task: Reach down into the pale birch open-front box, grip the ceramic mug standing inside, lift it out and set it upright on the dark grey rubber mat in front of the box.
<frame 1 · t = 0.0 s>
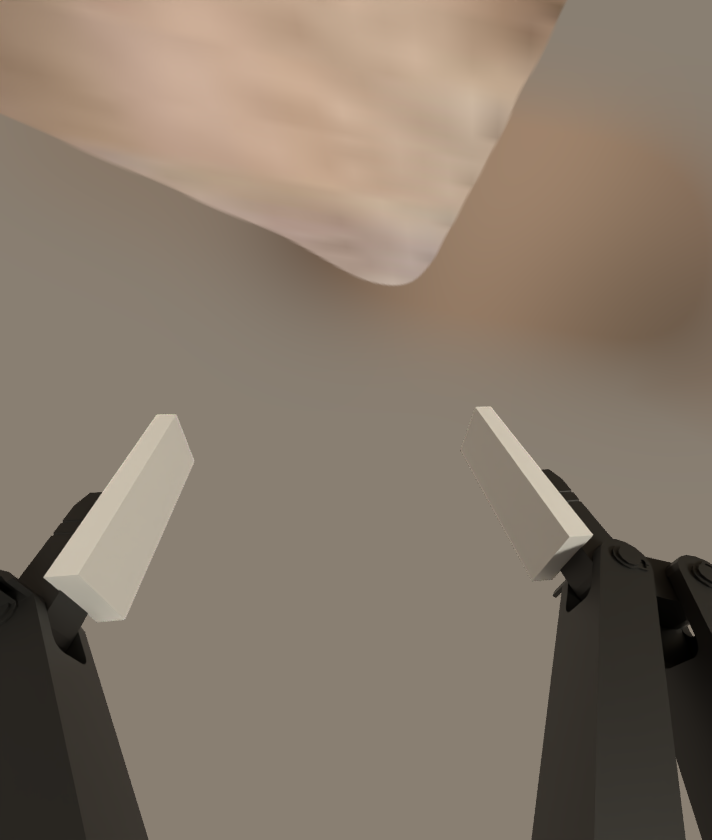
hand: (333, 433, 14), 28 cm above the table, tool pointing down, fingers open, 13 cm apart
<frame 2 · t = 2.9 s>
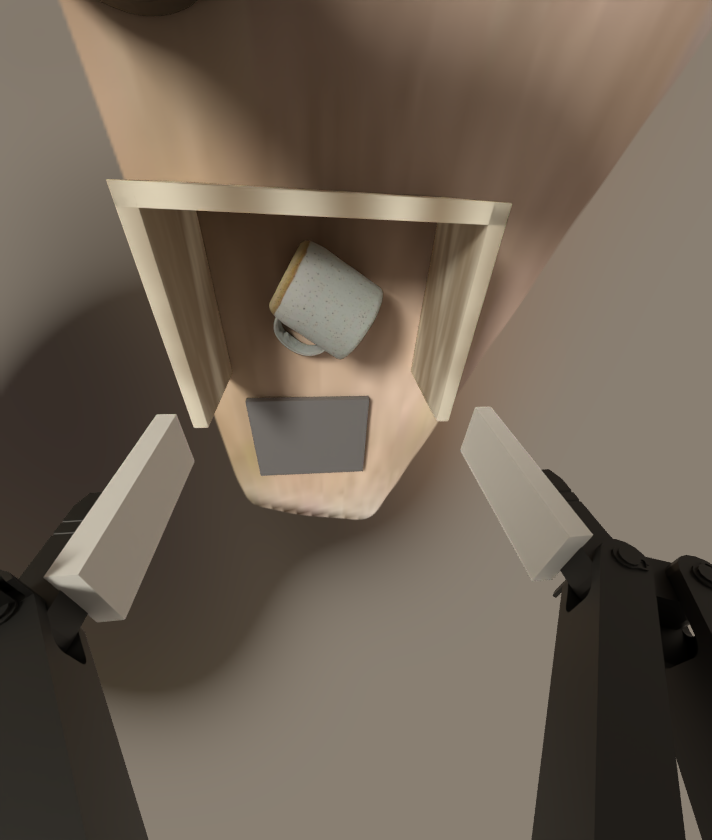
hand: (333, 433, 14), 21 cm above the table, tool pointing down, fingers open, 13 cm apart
rubber mat: (311, 436, 42), on the table
open box: (323, 292, 30), on the table
ceramic mug: (319, 303, 31), on the table
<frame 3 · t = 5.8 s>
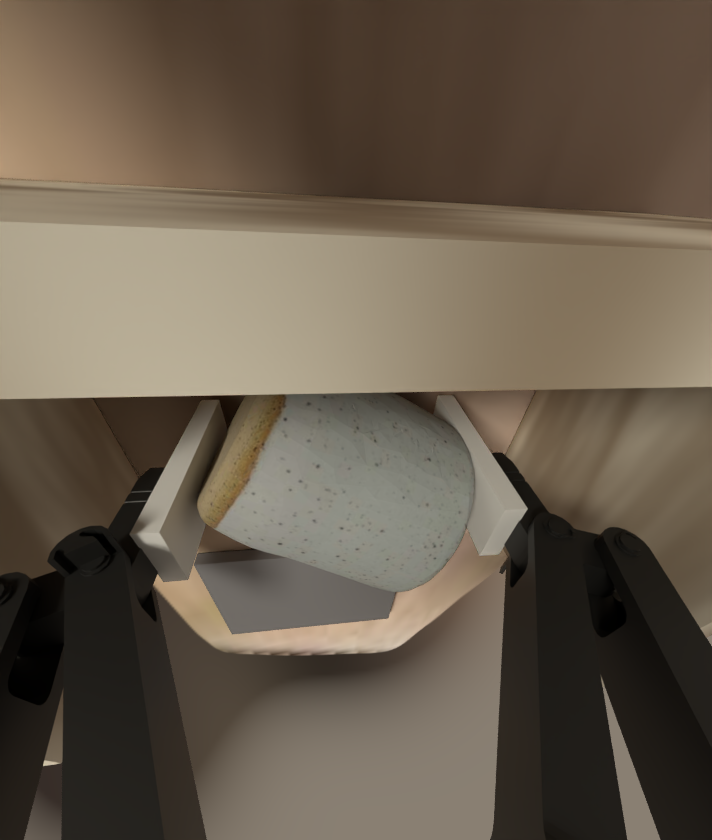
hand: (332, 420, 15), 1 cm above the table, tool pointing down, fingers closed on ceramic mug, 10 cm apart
rubber mat: (309, 586, 26), on the table
open box: (332, 404, 15), on the table
ceramic mug: (320, 429, 16), on the table, touching gripper
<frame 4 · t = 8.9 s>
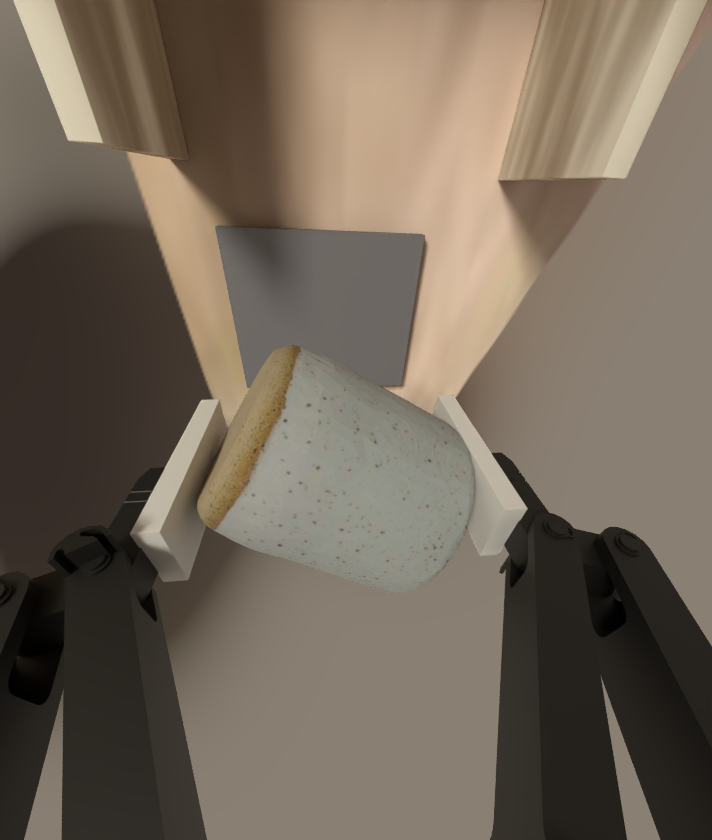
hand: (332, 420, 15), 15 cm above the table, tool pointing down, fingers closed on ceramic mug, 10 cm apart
rubber mat: (325, 317, 26), on the table
ceramic mug: (320, 429, 16), point 14 cm above the table, touching gripper
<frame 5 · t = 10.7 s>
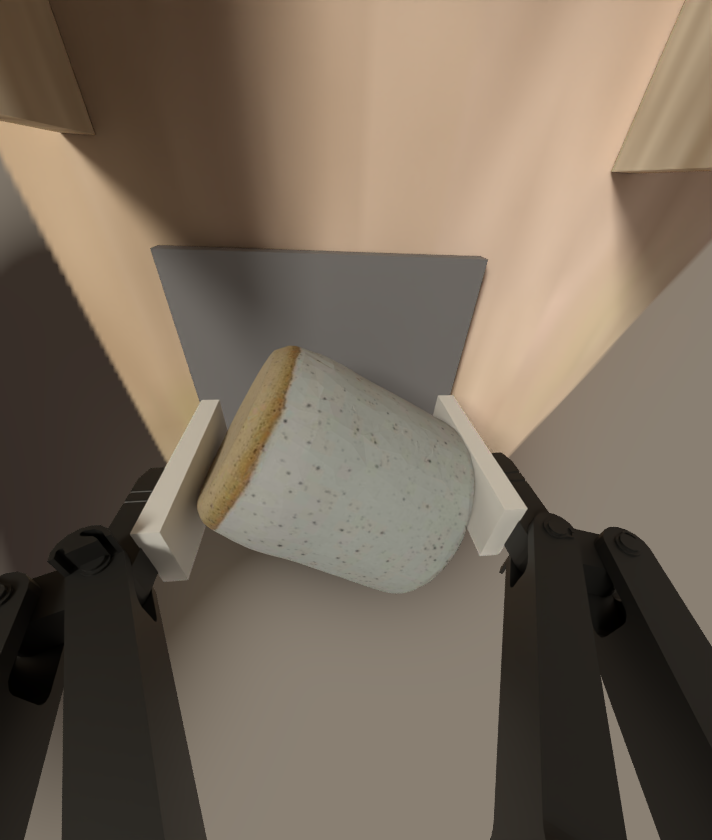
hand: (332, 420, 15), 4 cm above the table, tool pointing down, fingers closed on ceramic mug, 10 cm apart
rubber mat: (329, 373, 18), on the table
ceramic mug: (320, 429, 16), point 4 cm above the table, touching gripper
when the fingers open (3 cm above the table, at t = 12.1 s): ceramic mug drops 1 cm, resting on rubber mat.
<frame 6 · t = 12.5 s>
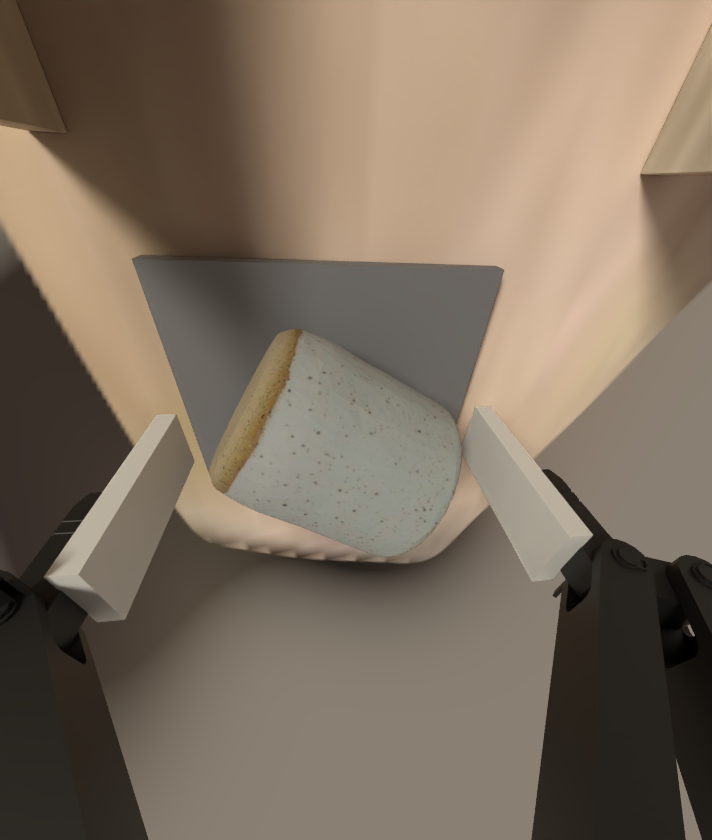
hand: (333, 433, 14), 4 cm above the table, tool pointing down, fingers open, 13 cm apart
rubber mat: (330, 390, 17), on the table
ceramic mug: (321, 413, 17), point 1 cm above the table, touching rubber mat
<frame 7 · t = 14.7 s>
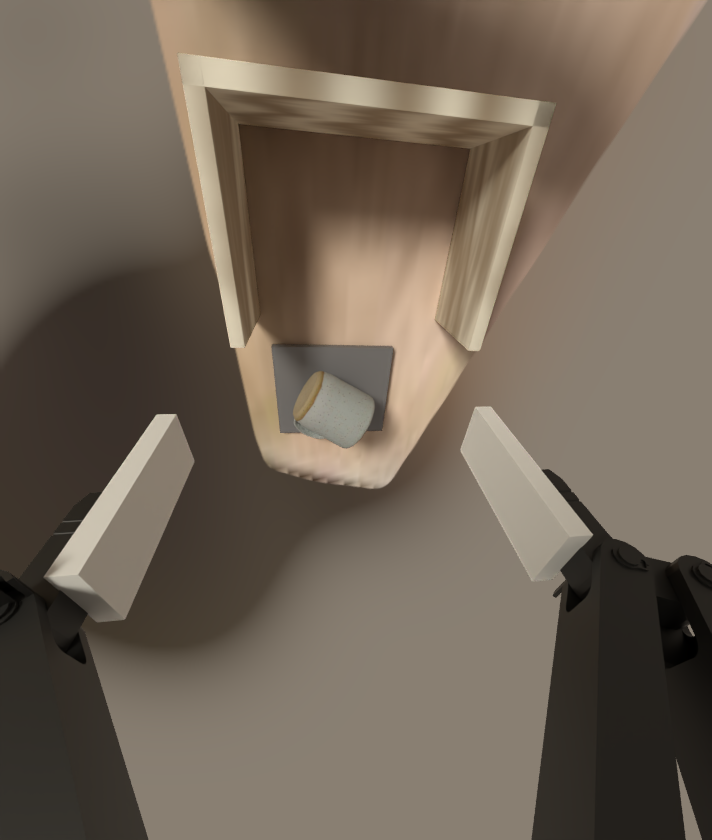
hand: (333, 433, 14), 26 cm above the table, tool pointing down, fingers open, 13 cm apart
rubber mat: (332, 390, 42), on the table
open box: (355, 228, 31), on the table
ceramic mug: (327, 401, 42), point 1 cm above the table, touching rubber mat
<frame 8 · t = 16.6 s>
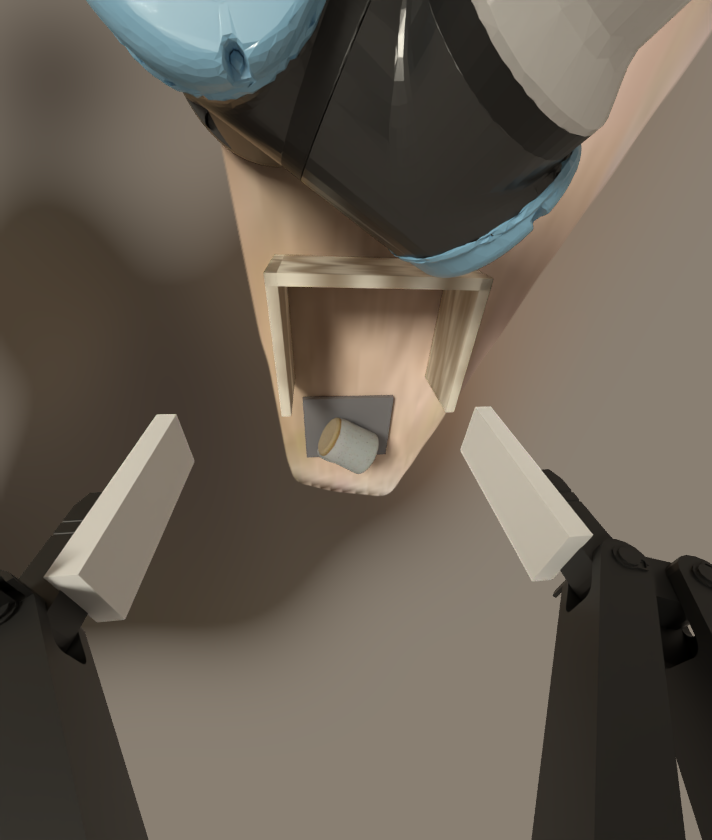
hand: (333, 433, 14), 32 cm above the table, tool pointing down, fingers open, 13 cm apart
rubber mat: (347, 426, 55), on the table
open box: (365, 321, 43), on the table
ceramic mug: (342, 435, 55), point 1 cm above the table, touching rubber mat
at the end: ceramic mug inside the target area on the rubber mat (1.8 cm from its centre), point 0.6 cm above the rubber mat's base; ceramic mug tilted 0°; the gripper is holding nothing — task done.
